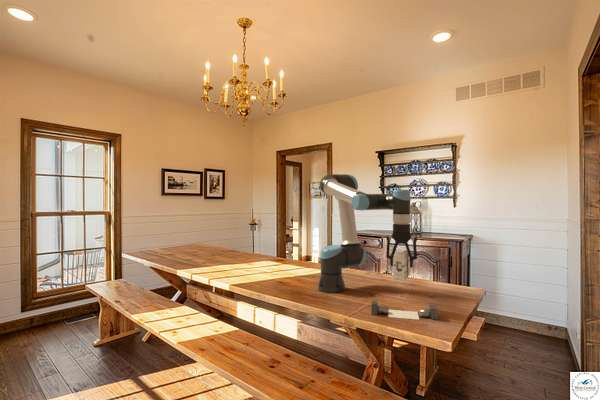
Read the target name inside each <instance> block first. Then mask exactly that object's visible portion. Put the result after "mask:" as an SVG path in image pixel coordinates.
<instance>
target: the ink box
mask: <svg viewBox="0 0 600 400" xmlns="http://www.w3.org/2000/svg"><path fill="white" fill-rule="evenodd" d="M393 259H394V274H393V281H399V282H405V281H406V280H407V279H408V278H409V276H410V275H408V260H410V258H409V255H408V252H407V251H397V252H395V254H394V257H393Z"/></svg>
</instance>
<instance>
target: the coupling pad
mask: <svg viewBox="0 0 600 400" xmlns="http://www.w3.org/2000/svg"><path fill="white" fill-rule="evenodd" d="M418 312H419V311H413V310H412V311H411V310H397V309H388V318H389V319H390V318H391V319H402V320H413V321H420V315H419V313H418Z"/></svg>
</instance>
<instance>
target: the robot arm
mask: <svg viewBox="0 0 600 400" xmlns="http://www.w3.org/2000/svg"><path fill="white" fill-rule="evenodd" d="M358 188H359V184H358V180H357V179H356V177H355V176H354V175H352V174H345V173H343V174H337V173H336V174H333V173H329V174H326V175H324V176H323V177H322V178H321V179H320V181H319V189H320V191H321V192H322V193H323V194H325V195H327V196H333V197H335V200H337V203H338V211H339V219H340V229H341V230H340V231H341V239H342V241H341V242H340V245H339V244H334V245H332V244H331V245H326V246H323V247H322V248H321V249H320V255H319V256H320V277H319V280H318V282H317V290H318V291H320V292H324V293H333V294H334V293H341V292H344V291H346V283H345V280H344V277H343V269H352V268H357V267H361V266H363V265H364V264H365V262H366V260H367V251H366V249H365V247H364V246H362V243H361V242H360V241H359V239H358V232H357V231H358V230H357V224H356V216H355V210H356V211H376V210H379V211H381V210H382V211H383V210H386V211H387V210H388V211H389V210H392V222H393V224H392V234H391V235H386V236H385V238H386V256H385V257H386V258H387V259H389V261H390V263H389V264H390V265H389V266H390V267H392V275H394V254H395V253H396V251H397V248H398V246H399V245H405V248H406V252H408V255H409V260H408V275H409V276H410V275H411V268H413V267H414V266H413V265H414V264H413V263H414V262H413V261H414V260H418V252H417V241H418V237H417V236H412V235H411V224H410V223H411V201H412V200H411V191H410V190H409V189H393V192H392V193H366V192H363V191H360V190H358ZM392 240H394V245H393V248H392V252H391V253H390V249H391V248H390V247H391V241H392ZM410 240H411V241H412V248H413V249H412V250H413V254H412V251H411V250H410V247H409V244H408V243H409V241H410ZM412 255H413V256H412Z"/></svg>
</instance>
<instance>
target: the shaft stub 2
mask: <svg viewBox="0 0 600 400" xmlns="http://www.w3.org/2000/svg"><path fill="white" fill-rule="evenodd" d="M428 306H429V308H428V309H423V308H419V309H418V310H419V311H418V312H419V313H418V316H419V318H420V317H421V318H430V320H431V321H432V320H434V321H438V308H437V305H435V304H429V305H428Z"/></svg>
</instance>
